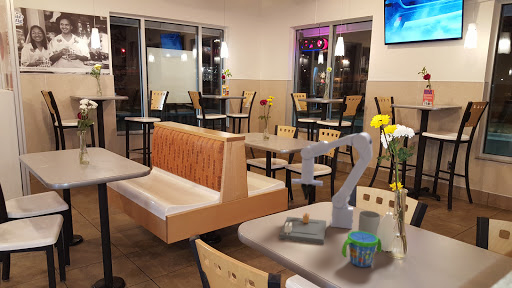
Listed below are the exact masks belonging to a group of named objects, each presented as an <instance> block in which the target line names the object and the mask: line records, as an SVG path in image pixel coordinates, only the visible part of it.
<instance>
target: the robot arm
mask: <svg viewBox="0 0 512 288" xmlns="http://www.w3.org/2000/svg"><path fill="white" fill-rule="evenodd" d="M346 145H348V146H350V147H352V146H353V147H354V149H355V150H356V151H357V153H358V156H359V158H358V160H357V161H356V163H355V165H354V166H353V168H352V169H351V171H350V173H349V174H348V175H347V178H346V179H345V181H344V183H343V185H342V186H341V188H340V189H339V190H338V191H337V192H336V193H335V194H334V195H333V196H332V197H331V204H332V209H331V220H330V227H331V228H332V227H333V228H342V229H349V230H350V229H351V230H352V229H353V223H354V217H353V216H354V207H353V206H349V201H350V200H351V195H352V193H353V190H354V188H355V187H356V185H357V183H358V182H359V180H360V178H361V177H362V175H363V173H364V172H365V171H366V169H367V167H368V165H369V164H370V162H371V161H372V159H373V157H374V152H373V138H372V137H371V135H370V134H369V133H368V132H365V131H362V132H360V133H352V134H348V135H345V136H343V137H340V138H337V139H334V140H332V141H329V142H328V141H327V140H323V139H321V140H319V141H318V142H317V143H311V144H309V145H308V146H305V147H303V148H302V149H301V150H300V157H301V174H300V176H301V178H292V179H291V184H292V185H293V184H295V185H300V188H301V190H302V192H303V195H304V201H305V200H306V201H308V200H309V196H310V193H311V190H312V188H313V187H314V186H320V187H323V186H324V185H323V184H324V182H323V180H318V179H317V180H316V179H314V174H315V172H314V171H315V157H319V156H322V155H326V154H329V153H330V152H331V149H335V148H338V147H342V146H346Z"/></svg>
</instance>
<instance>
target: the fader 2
mask: <svg viewBox="0 0 512 288" xmlns="http://www.w3.org/2000/svg"><path fill="white" fill-rule="evenodd" d="M302 218H303V223H309V219H310V213H308V212H304V213H303V215H302Z"/></svg>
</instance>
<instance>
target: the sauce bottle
mask: <svg viewBox="0 0 512 288" xmlns="http://www.w3.org/2000/svg"><path fill="white" fill-rule="evenodd" d="M393 215H394V214H393V212H391V207H390V206H389V208H388V211H387V212H386V213H385V214H384V216H383V217H382V218H381V219H380V223H379V226H378V229H377V237H378V238H379V239H380V240H381V244H382V250H381V251H383V252H385V251H386V250H388V248H389V246H390V244H391V242H392V240H393V238H394V232H393V231H394V229H393V228H394V226H395V221H396V219H395V220H394V219H393V217H394V216H393Z"/></svg>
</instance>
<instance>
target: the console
mask: <svg viewBox="0 0 512 288" xmlns="http://www.w3.org/2000/svg"><path fill="white" fill-rule="evenodd" d="M286 222H291V223H292V230H291V233H286V232H285V224H286ZM326 228H327V220H324V219H323V220H322V219H313V218H309V223H303V217H294V216H287V217H286V219H285V222H284V223H283V226H282V228H281V230H280V233H279V240H287V241H292V242H293V241H294V242H303V243H310V244H319V245H324V243H325V237H326Z"/></svg>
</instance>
